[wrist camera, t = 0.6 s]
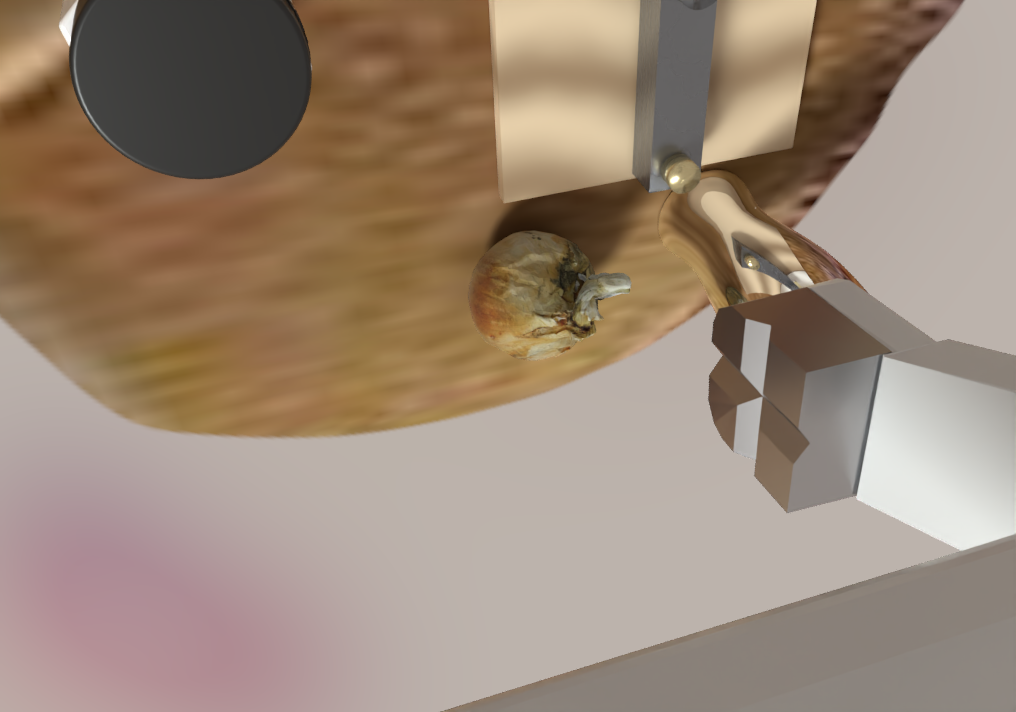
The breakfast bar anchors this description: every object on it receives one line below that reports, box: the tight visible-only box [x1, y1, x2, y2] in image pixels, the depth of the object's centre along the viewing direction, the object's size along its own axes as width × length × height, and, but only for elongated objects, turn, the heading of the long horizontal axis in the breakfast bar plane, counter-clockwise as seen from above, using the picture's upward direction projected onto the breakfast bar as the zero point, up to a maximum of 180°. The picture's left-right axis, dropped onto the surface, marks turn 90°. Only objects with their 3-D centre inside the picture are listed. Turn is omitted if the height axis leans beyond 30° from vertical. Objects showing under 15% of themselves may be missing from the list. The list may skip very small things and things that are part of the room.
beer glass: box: [658, 170, 869, 314], centre depth 54 cm, size 7×7×15 cm
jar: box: [59, 0, 312, 179], centre depth 38 cm, size 9×8×12 cm
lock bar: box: [632, 0, 717, 194], centre depth 49 cm, size 13×3×4 cm, turn 3°
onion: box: [468, 230, 631, 360], centre depth 54 cm, size 8×8×8 cm
